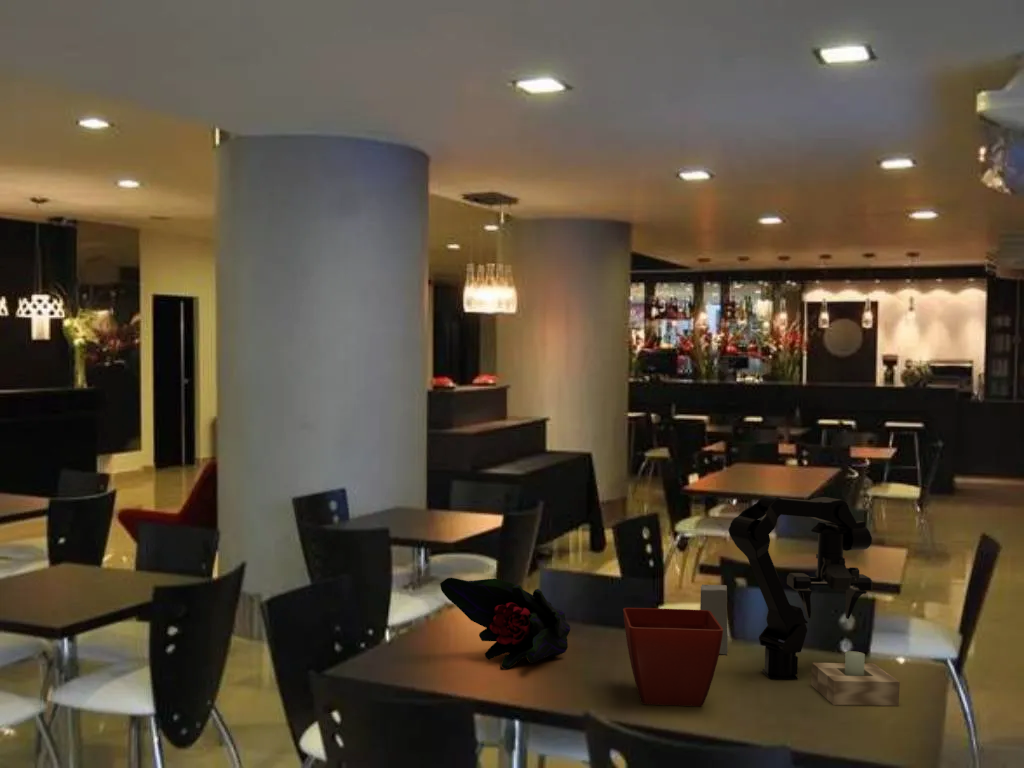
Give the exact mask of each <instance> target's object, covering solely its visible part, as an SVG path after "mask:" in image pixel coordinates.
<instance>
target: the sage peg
mask: <svg viewBox="0 0 1024 768" xmlns="http://www.w3.org/2000/svg"><path fill="white" fill-rule="evenodd" d="M865 659H866V654H865V653H864V652H859V651H855V650H854V651H853V650H851V651H850V650H849V651H846V652H845V655H844V663H845V675H846V676H864V664H865V662H866V661H865Z"/></svg>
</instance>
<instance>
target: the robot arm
mask: <svg viewBox="0 0 1024 768" xmlns="http://www.w3.org/2000/svg"><path fill="white" fill-rule="evenodd" d="M780 516H793V517H795V516H796V517H805V518H806V517H807V518H811V519H814V520H818V521H821V522H817V524H816V525H815V526H813V528H811V532H812V533H816V534H818V538H817V539H818V541H817V553H816V554H815V555H816V557H815V558H816V560H817V561H816V562H817V566H816V567H817V568H816V571H815V573H814V574H815V576H816V577H815V576H809V575H807V574H806V573H804V572H789V573H788V574H787V576H786V585H787V586H789V587H790V588H792V589H793V590H794V591H796V592H797V594H798V596H799V598H800V601H801V603H802V605H803V608H804V611H805V614H806V618H808V619H811V618H812V616H811V615H812V608H811V607H812V604H811V603H812V602H811V595H812V592H813V591H812V590H811V589H810V588H811V587H812V586H828V587H829V589H830V590H831V589H832V590H845V607H844V608H845V609H844V611H845V619H846V620H849V619H850V617H851V615H852V613H853V610H854V607H855V606H856V603H857V601H858V600H859V598H860V597H861V596H862V595H866V594H868V593H867V592H868V591H873V590H874V589H873V588H874V587H873V586H874V585H873V583H874V582H873V580H872V578H871V577H869V576H867V575H865V574H862V573H861V574H860V569H859V567H853V566H852V567H847V565H846V558H845V557H844V552H845V551H846V552H847V551H849V552H851V551H861V550H862V551H863V550H867V549H869V547H871V544H872V541H873V539H872V538H873V536H872V535H871V531H870V530H869V528H867V527H866V521H862V520H855V517H854V515H853V514H852V511H851V510H850V507H849V504H848V502H847V501H846V500H844V499H840V498H839V499H838V498H833V497H827V496H820V497H814V498H812V499H807V500H805V499H795V498H786V497H785V498H784V497H776V496H769V495H764V496H762V497H761V498H760V499H758V501H756V503H754V504H752V505H751V506H748V508H746V509H744V510H743V511H742V512H740V514H738V516H736V517H734V518H733V520H731V523H730V526H729V527H728V533H729V537H730V538H731V539H732V542H733V543H734V545H735V546H736V547H737V549H739V551H740V552H741V553H742V554H744V555H745V557H747V561H748V563H749V565H750V567H751V570H752V572H753V575H754V578H755V580H756V583H757V585H758V587H759V590H760V592H761V595H762V598H763V600H764V602H765V605H766V607H767V614H766V622H767V625H766V626H765V628H764V629H763V630H762V632H761V633H760V635H759V636H758V640H759V643H760V646H762V647H763V646H764V668H762V669H761V672H762V673H763V674H764V675H765V676H766V677H767V678H769V679H770V680H798V677H799V676H797V675H798V670H799V669H798V668H799V667H798V666H799V657H798V656H797V654H798V653H801V652H802V650H803V647H804V642H805V639H806V636H807V633H808V628H807V624H808V621H807V620H806V618H805V616H804V611H803V609H802V607H799V606H796V605H792V604H791V603H790V602H789V600H788V597H787V595H786V592H785V589H784V588H783V585H782V581H781V579H780V577H779V575H778V572H777V570H776V567H775V565H774V562H773V560H772V557H771V554H770V552H769V549H770V544H771V537H770V534H771V532H773V531H774V529H775V528H776V526H777V522H778V518H779V517H780ZM761 518H762V519H761ZM780 640H781V641H780Z"/></svg>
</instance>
